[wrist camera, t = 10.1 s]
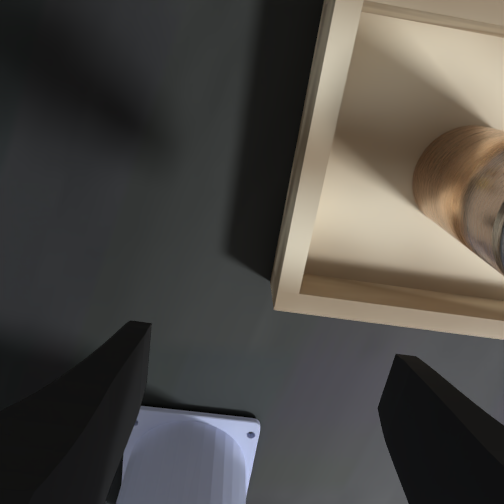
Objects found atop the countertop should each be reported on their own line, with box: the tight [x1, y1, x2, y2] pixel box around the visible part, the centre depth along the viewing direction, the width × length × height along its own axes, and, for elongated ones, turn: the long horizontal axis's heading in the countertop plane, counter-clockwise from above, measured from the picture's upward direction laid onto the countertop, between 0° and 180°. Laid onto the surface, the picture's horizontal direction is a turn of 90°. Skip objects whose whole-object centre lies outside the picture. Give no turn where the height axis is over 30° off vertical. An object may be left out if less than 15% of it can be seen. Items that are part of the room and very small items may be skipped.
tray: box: [270, 0, 504, 340], centre depth 20 cm, size 14×16×3 cm
